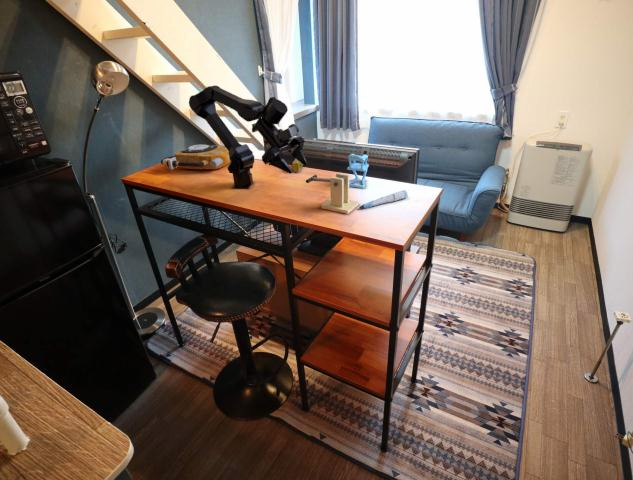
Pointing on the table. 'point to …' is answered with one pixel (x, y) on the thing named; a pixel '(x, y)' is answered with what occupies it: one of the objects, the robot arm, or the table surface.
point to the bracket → (339, 195)
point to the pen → (386, 199)
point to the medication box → (297, 165)
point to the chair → (358, 168)
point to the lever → (321, 179)
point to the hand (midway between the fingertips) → (299, 168)
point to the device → (199, 157)
